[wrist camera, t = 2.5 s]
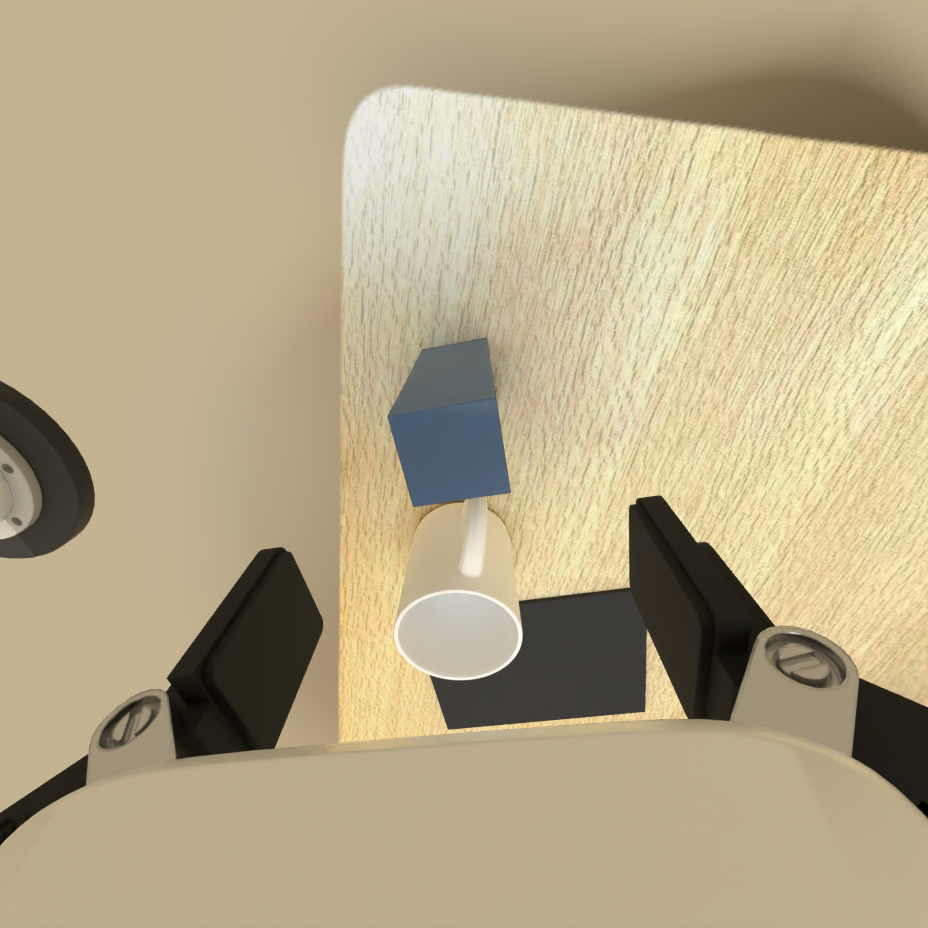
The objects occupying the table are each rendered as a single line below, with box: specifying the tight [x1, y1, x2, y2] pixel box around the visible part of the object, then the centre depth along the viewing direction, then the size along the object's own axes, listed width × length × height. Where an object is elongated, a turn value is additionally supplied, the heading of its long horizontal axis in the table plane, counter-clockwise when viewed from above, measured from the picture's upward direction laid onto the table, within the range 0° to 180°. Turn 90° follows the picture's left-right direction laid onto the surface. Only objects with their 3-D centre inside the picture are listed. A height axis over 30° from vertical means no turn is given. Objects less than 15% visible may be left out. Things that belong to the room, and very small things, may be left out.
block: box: [388, 338, 511, 507], centre depth 24 cm, size 4×4×13 cm
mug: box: [394, 496, 523, 680], centre depth 30 cm, size 12×8×10 cm
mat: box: [430, 588, 647, 730], centre depth 43 cm, size 22×18×1 cm
